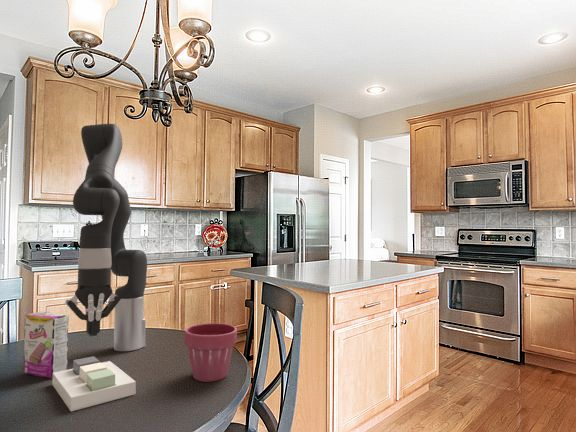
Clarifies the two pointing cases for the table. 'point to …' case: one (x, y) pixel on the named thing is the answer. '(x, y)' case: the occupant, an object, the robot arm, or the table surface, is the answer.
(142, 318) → the robot arm
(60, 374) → the white slotted tray
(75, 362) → the charcoal key
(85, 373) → the ivory key
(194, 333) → the plant pot
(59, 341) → the candy bar box
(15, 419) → the table surface
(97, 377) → the sage key
